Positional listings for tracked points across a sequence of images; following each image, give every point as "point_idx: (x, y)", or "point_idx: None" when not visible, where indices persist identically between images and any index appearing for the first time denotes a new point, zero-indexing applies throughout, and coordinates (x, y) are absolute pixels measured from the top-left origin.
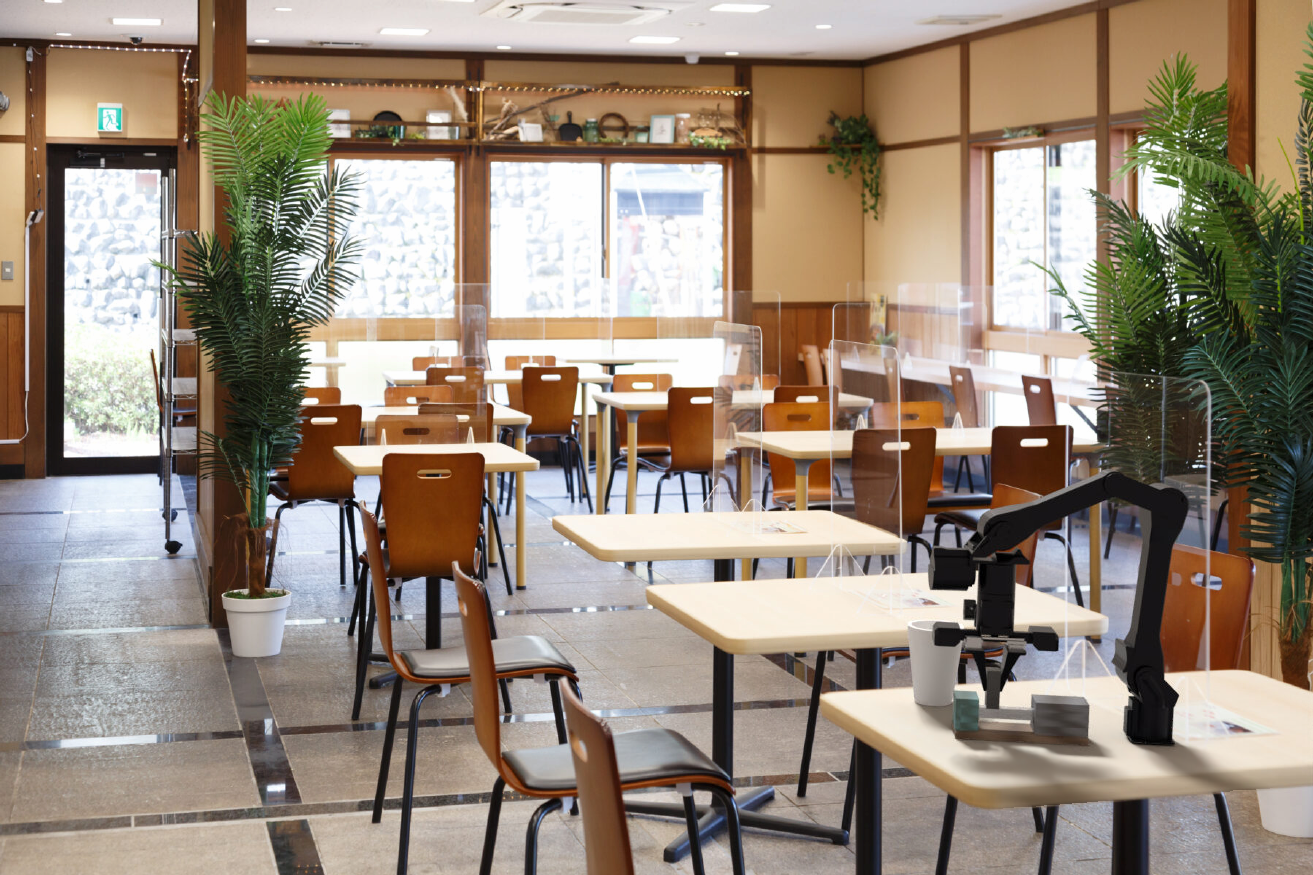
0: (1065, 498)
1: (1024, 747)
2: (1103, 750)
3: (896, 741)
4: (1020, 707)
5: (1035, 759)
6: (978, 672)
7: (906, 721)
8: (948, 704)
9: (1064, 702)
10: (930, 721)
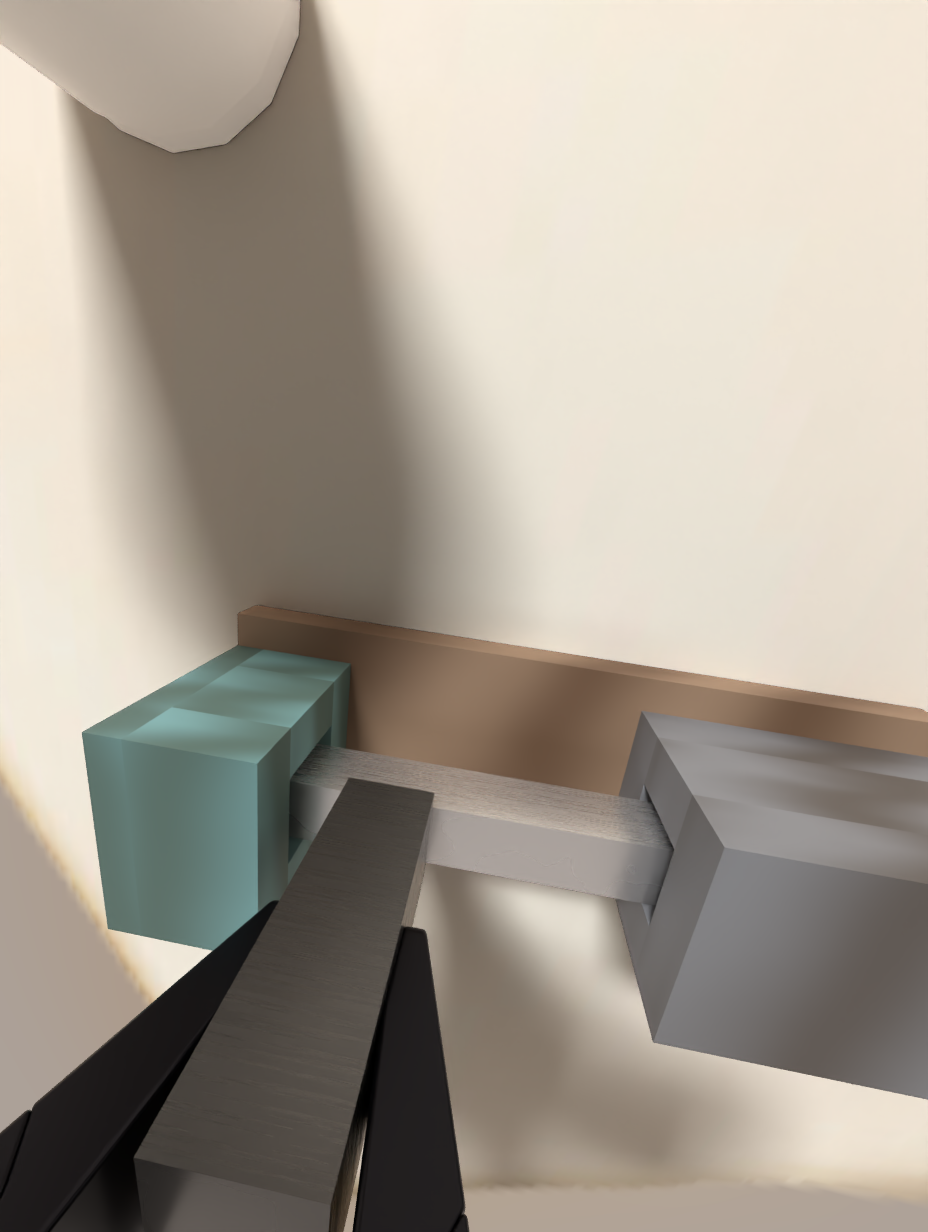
0: None
1: (522, 900)
2: None
3: (39, 819)
4: (580, 839)
5: (519, 1015)
6: (108, 1041)
7: (46, 537)
8: (268, 99)
9: (897, 1052)
10: (158, 530)
